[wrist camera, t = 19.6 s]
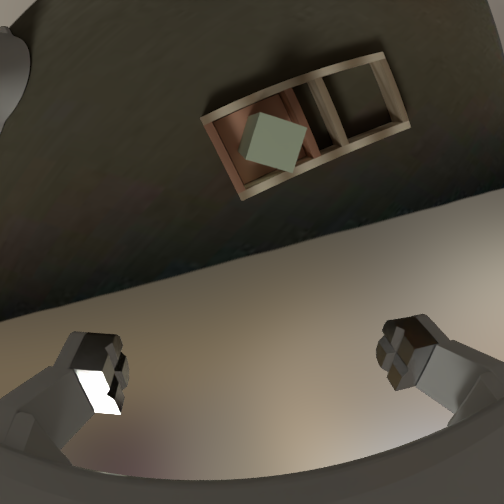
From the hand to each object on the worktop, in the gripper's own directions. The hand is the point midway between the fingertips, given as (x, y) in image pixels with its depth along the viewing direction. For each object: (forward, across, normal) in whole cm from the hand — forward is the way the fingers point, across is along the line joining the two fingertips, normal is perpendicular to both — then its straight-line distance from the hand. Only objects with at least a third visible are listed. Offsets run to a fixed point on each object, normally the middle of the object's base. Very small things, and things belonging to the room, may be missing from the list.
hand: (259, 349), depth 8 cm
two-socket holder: (+31, -11, -8) cm, 34 cm away
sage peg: (+31, -4, -5) cm, 32 cm away
